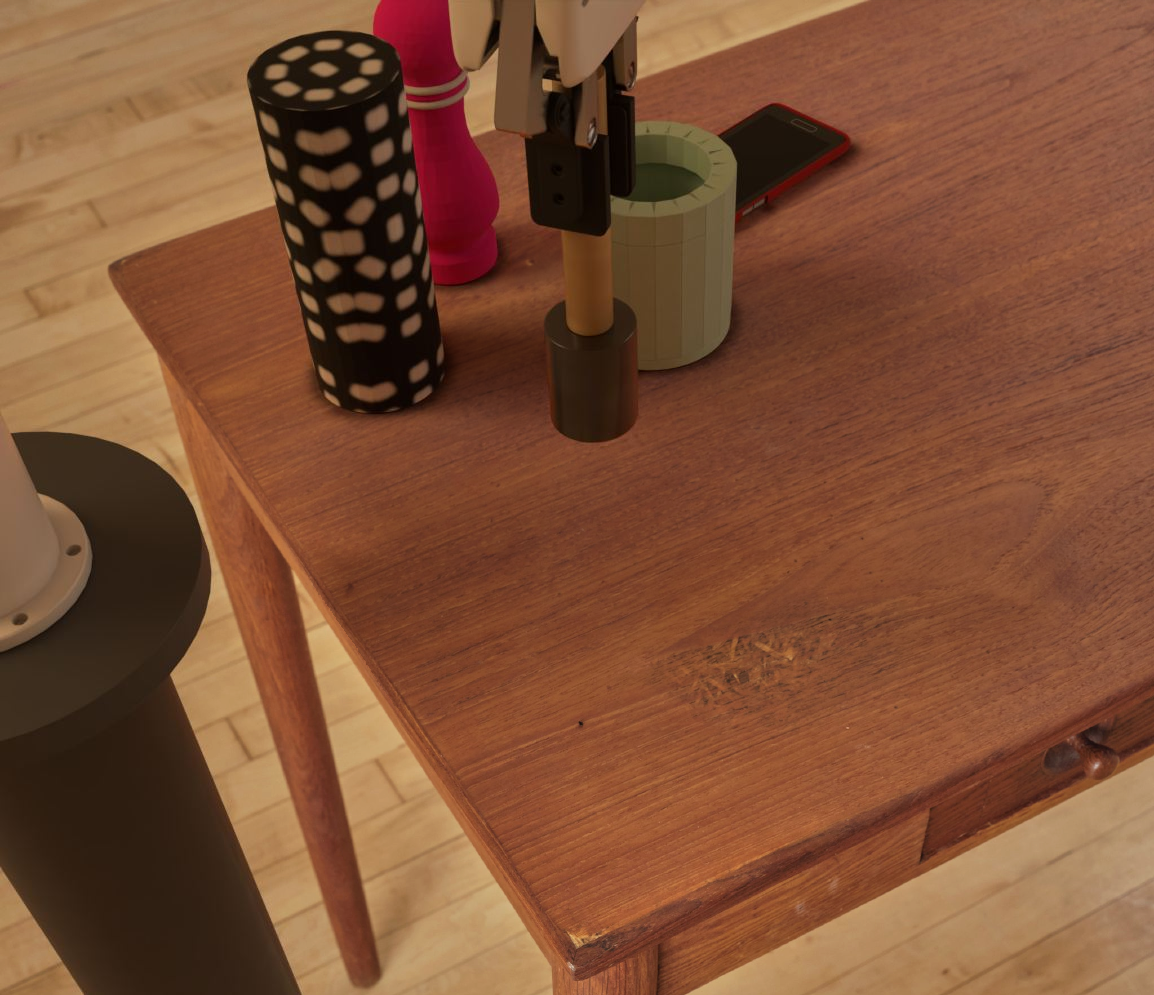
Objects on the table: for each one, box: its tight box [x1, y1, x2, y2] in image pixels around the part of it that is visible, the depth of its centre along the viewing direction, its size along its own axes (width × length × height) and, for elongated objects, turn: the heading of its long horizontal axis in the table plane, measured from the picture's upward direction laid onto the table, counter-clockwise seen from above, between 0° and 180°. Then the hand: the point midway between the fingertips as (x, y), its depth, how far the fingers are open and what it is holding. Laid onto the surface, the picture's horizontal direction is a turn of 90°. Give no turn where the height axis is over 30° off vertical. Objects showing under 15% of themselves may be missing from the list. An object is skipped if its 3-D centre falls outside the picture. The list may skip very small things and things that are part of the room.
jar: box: [610, 120, 737, 371], centre depth 94 cm, size 10×10×11 cm
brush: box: [543, 64, 640, 444], centre depth 61 cm, size 4×4×16 cm
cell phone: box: [716, 102, 851, 224], centre depth 107 cm, size 8×15×1 cm, turn 134°
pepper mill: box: [372, 0, 501, 286], centre depth 95 cm, size 7×7×20 cm
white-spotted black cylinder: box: [246, 29, 446, 414], centre depth 88 cm, size 8×8×20 cm
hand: (584, 204), depth 59 cm, fingers closed on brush, 2 cm apart
